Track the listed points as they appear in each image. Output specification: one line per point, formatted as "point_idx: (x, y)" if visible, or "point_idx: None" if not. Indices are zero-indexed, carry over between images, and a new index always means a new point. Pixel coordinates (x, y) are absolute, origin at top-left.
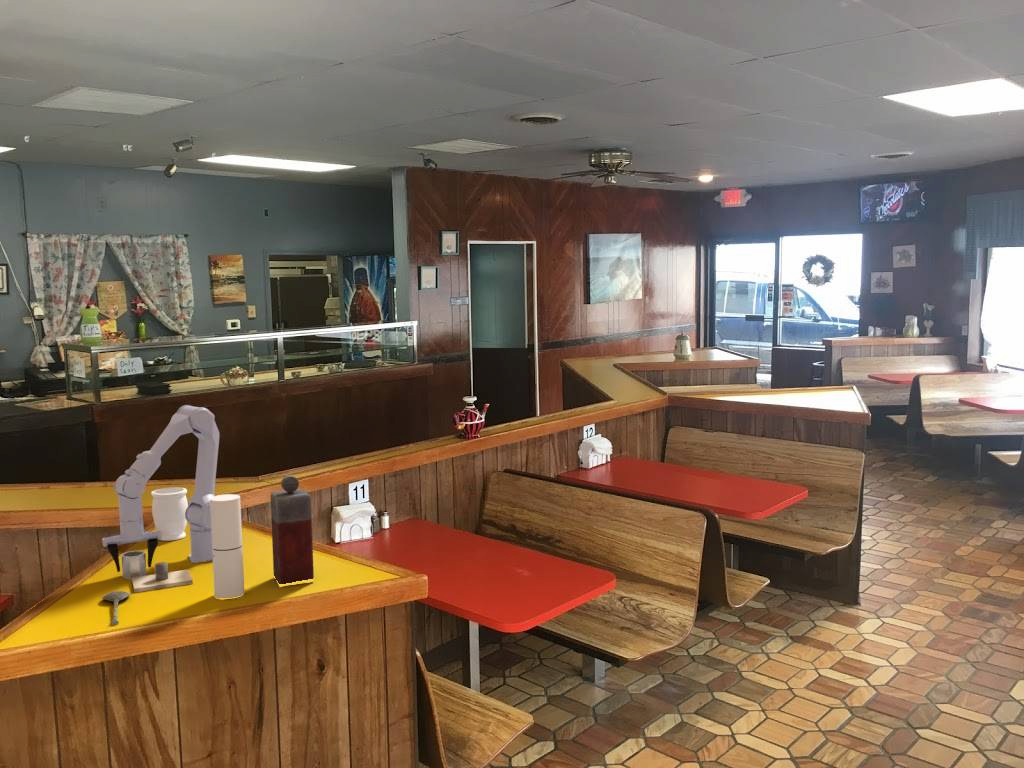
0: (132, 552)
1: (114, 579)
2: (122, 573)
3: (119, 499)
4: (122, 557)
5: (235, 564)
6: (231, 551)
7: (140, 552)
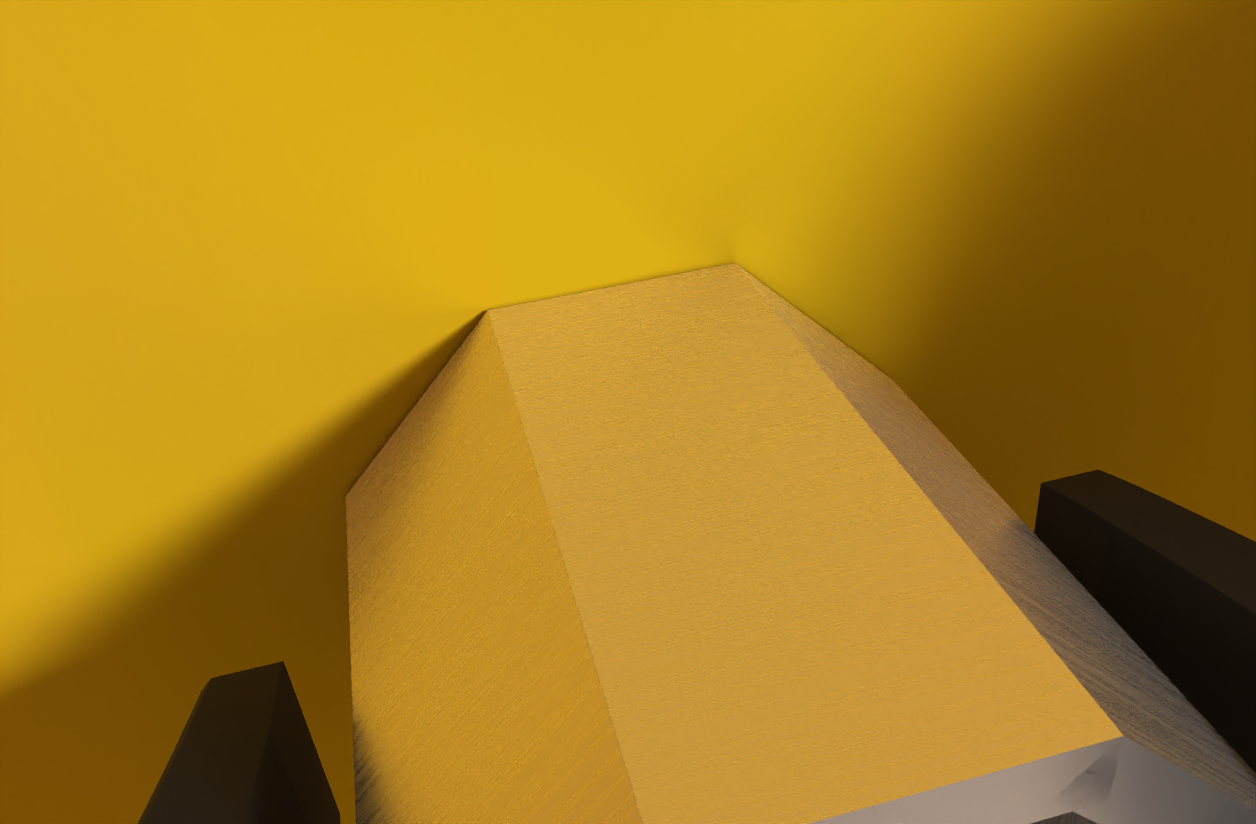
0: (858, 817)
1: (191, 688)
2: (350, 550)
3: None
4: None
5: None
6: None
7: (1155, 820)
